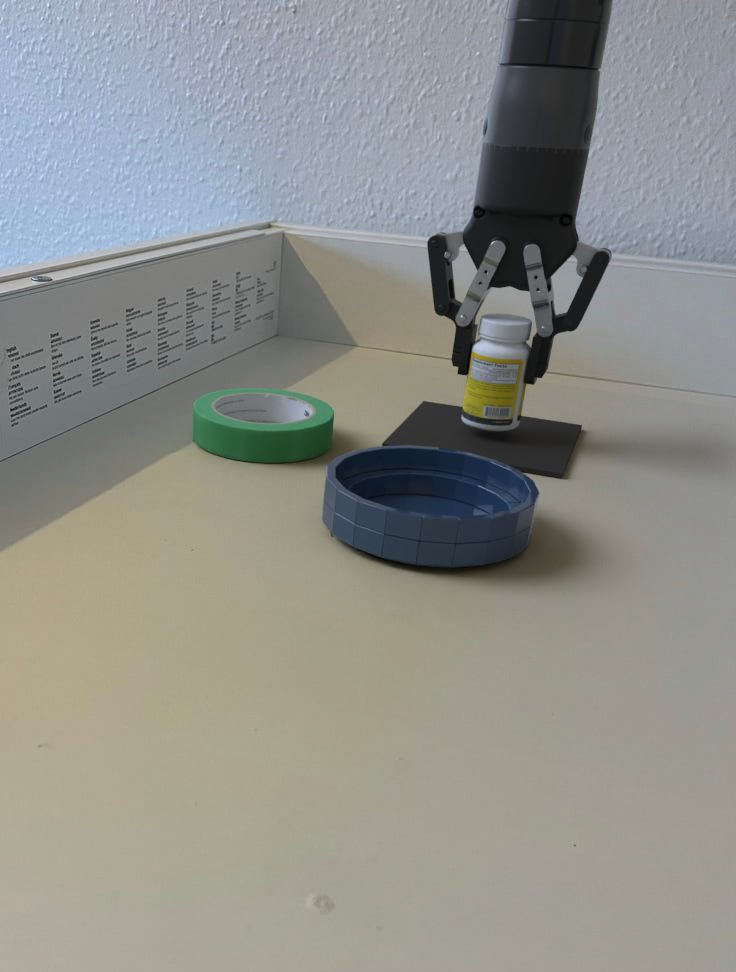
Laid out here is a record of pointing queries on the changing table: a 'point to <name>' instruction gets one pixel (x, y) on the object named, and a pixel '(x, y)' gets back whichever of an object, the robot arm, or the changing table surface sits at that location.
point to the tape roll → (262, 425)
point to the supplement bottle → (497, 373)
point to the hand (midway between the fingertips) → (496, 376)
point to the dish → (429, 505)
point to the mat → (491, 438)
